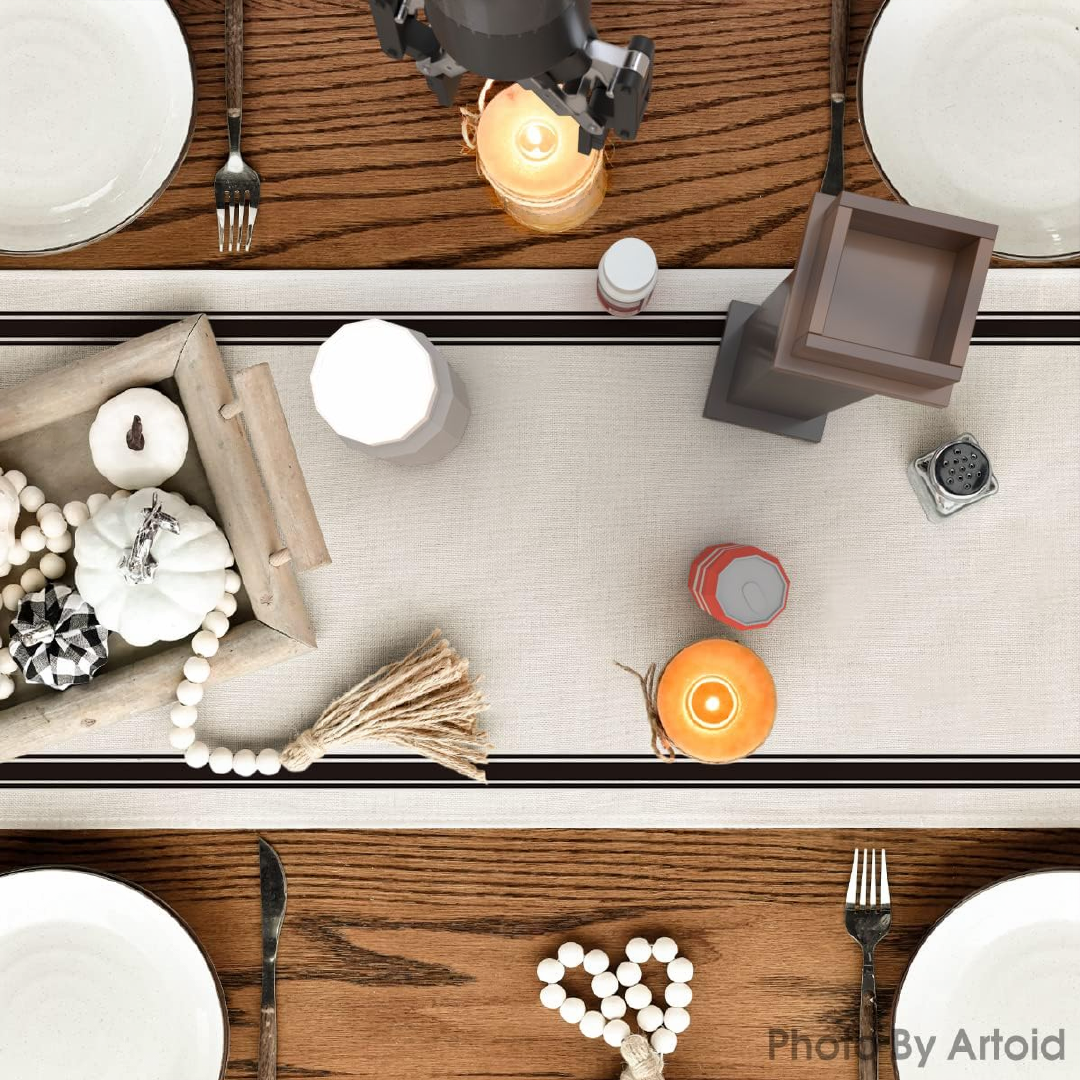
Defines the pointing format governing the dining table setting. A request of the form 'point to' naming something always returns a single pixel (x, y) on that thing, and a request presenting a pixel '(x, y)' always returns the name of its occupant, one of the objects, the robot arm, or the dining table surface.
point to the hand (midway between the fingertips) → (519, 114)
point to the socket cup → (883, 297)
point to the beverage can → (739, 585)
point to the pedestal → (767, 377)
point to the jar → (389, 393)
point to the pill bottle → (626, 277)
